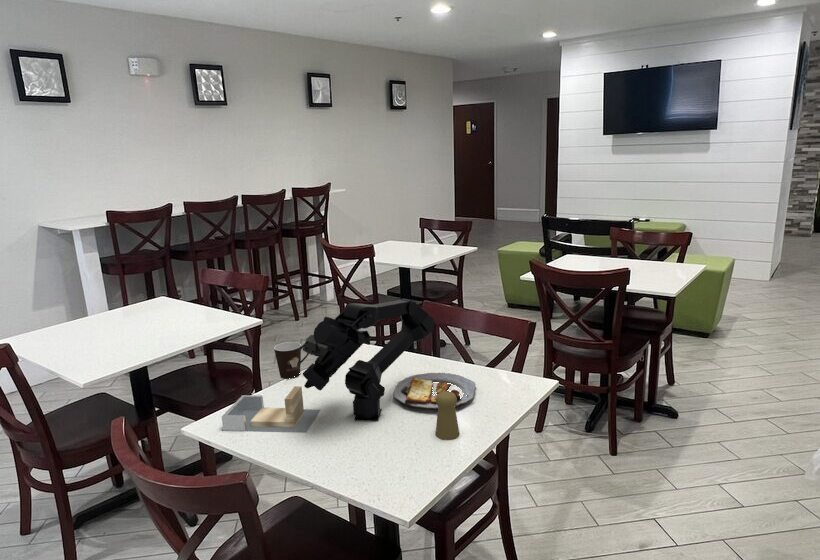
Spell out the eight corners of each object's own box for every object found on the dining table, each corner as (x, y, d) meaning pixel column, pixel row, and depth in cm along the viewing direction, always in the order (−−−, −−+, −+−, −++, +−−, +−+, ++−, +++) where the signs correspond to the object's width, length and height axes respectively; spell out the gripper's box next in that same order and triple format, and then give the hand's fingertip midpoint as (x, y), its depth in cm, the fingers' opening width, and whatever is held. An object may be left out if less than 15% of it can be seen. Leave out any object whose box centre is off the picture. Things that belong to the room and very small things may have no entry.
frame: (264, 408, 156) (262, 395, 155) (245, 431, 144) (243, 417, 143) (243, 408, 157) (242, 395, 156) (223, 430, 144) (221, 416, 143)
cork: (444, 426, 143) (443, 386, 140) (464, 432, 139) (463, 392, 136) (430, 435, 138) (429, 394, 136) (450, 442, 134) (449, 400, 132)
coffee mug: (277, 382, 175) (274, 352, 173) (276, 372, 183) (273, 343, 181) (314, 376, 178) (311, 347, 176) (311, 367, 186) (309, 339, 184)
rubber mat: (320, 410, 154) (320, 409, 154) (306, 433, 142) (306, 432, 141) (242, 409, 157) (242, 408, 157) (221, 432, 144) (221, 430, 144)
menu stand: (304, 413, 152) (301, 386, 150) (294, 427, 144) (291, 399, 143) (262, 412, 154) (259, 385, 152) (250, 426, 146) (247, 398, 144)
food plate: (470, 416, 147) (470, 404, 146) (385, 412, 152) (385, 400, 151) (478, 381, 171) (478, 370, 170) (404, 378, 176) (404, 368, 175)
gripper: (331, 316, 151) (296, 353, 155) (307, 338, 133) (269, 379, 138) (361, 344, 151) (325, 381, 156) (341, 370, 133) (301, 410, 138)
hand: (305, 386), depth 147 cm, fingers closed
